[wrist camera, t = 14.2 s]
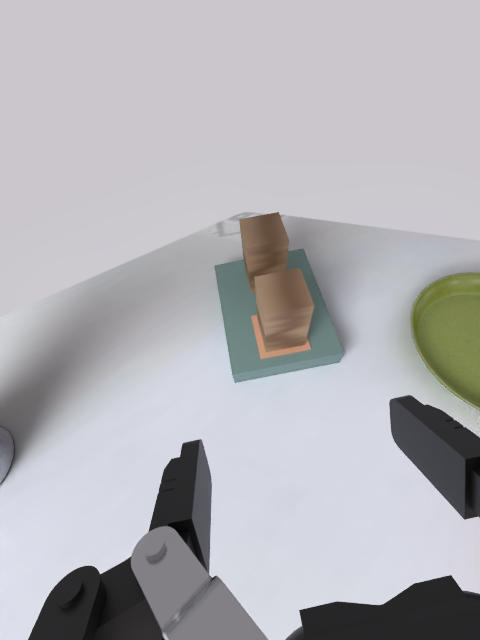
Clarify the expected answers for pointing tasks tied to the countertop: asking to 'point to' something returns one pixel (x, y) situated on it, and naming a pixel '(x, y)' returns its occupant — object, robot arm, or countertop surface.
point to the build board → (247, 335)
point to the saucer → (451, 333)
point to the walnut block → (283, 309)
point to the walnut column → (263, 246)
